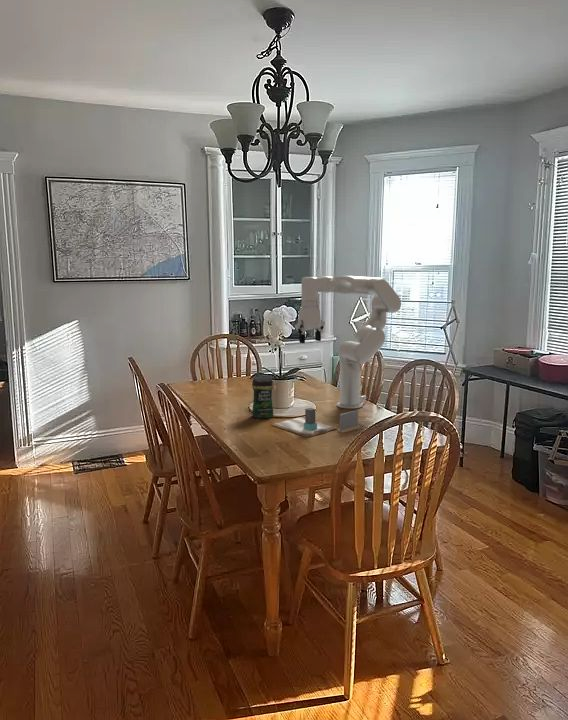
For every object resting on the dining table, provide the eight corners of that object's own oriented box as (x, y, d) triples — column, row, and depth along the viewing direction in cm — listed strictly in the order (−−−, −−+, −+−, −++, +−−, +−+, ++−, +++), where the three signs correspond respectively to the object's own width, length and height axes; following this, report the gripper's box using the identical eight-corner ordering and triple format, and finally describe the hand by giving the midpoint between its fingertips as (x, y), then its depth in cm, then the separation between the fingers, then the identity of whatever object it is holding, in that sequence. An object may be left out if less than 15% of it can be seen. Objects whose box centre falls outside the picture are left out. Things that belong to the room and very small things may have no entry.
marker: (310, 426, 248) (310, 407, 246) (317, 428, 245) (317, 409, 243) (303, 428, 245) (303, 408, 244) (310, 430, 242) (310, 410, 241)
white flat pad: (301, 418, 264) (301, 414, 264) (337, 429, 246) (337, 425, 246) (271, 425, 253) (271, 421, 253) (306, 437, 236) (306, 433, 235)
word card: (354, 426, 250) (354, 409, 249) (359, 428, 248) (359, 410, 246) (337, 431, 244) (337, 413, 242) (342, 432, 241) (343, 415, 240)
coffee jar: (253, 419, 262) (252, 379, 259) (251, 414, 270) (250, 375, 267) (274, 418, 264) (274, 378, 260) (272, 413, 272) (271, 374, 268)
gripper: (318, 302, 272) (318, 339, 275) (289, 305, 261) (290, 343, 265) (329, 303, 266) (329, 340, 270) (300, 306, 256) (301, 344, 259)
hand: (310, 341), depth 267 cm, fingers open, 9 cm apart
